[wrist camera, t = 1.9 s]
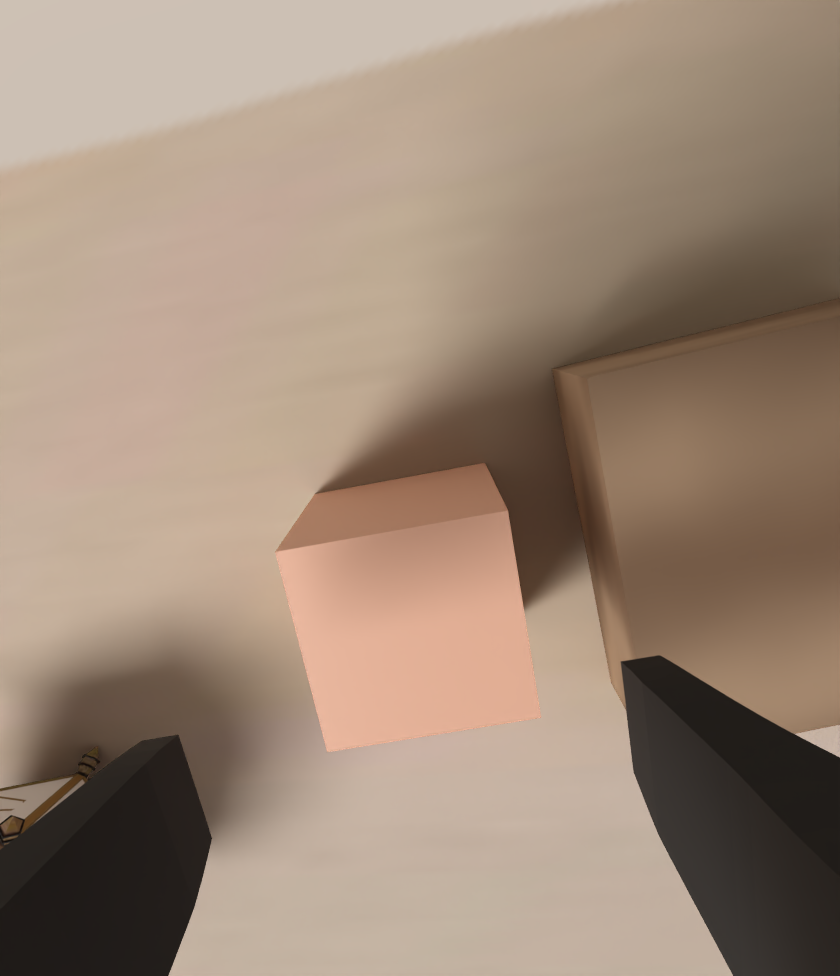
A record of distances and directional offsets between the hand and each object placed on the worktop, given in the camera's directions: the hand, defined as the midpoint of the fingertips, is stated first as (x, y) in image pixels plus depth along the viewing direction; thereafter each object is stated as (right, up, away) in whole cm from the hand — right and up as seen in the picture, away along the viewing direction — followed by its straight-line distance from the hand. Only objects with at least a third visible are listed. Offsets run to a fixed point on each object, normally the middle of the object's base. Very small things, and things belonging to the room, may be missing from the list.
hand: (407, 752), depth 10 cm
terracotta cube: (0, +2, +9) cm, 9 cm away
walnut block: (+9, +4, +8) cm, 13 cm away
